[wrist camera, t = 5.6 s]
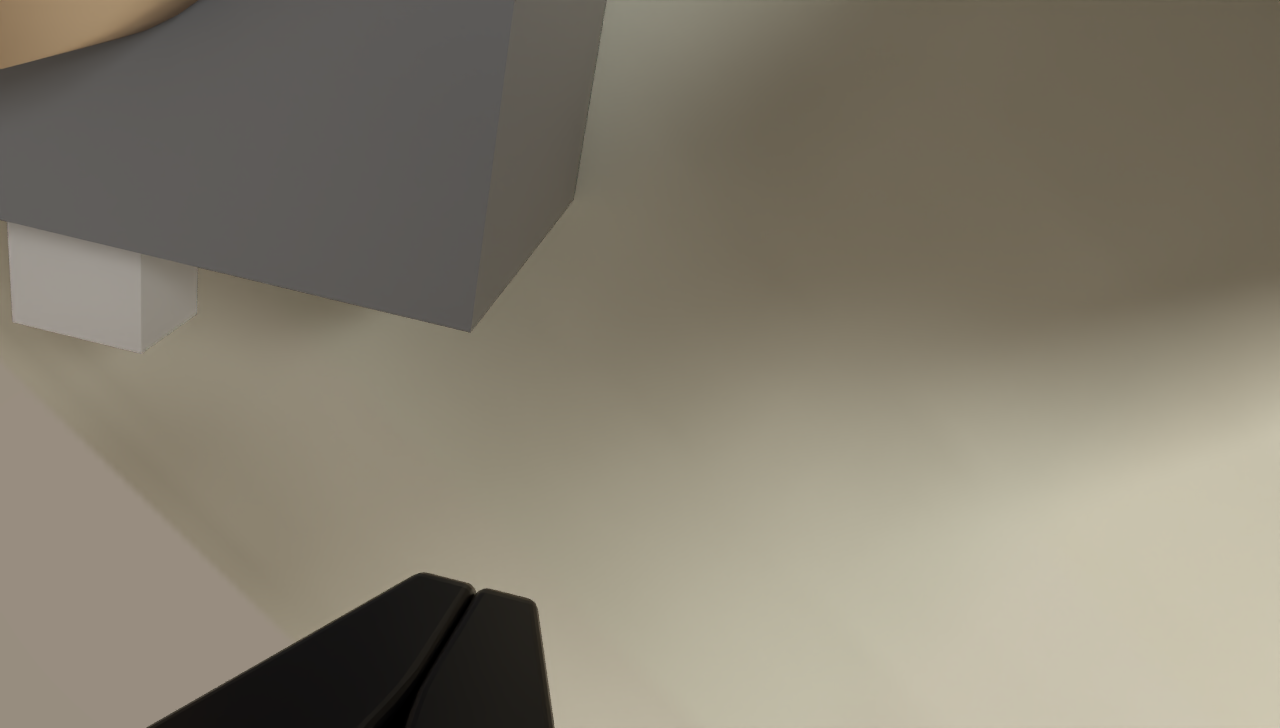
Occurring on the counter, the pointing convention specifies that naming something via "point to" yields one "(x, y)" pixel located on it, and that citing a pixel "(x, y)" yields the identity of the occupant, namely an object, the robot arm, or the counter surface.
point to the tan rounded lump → (74, 24)
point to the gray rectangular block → (293, 158)
